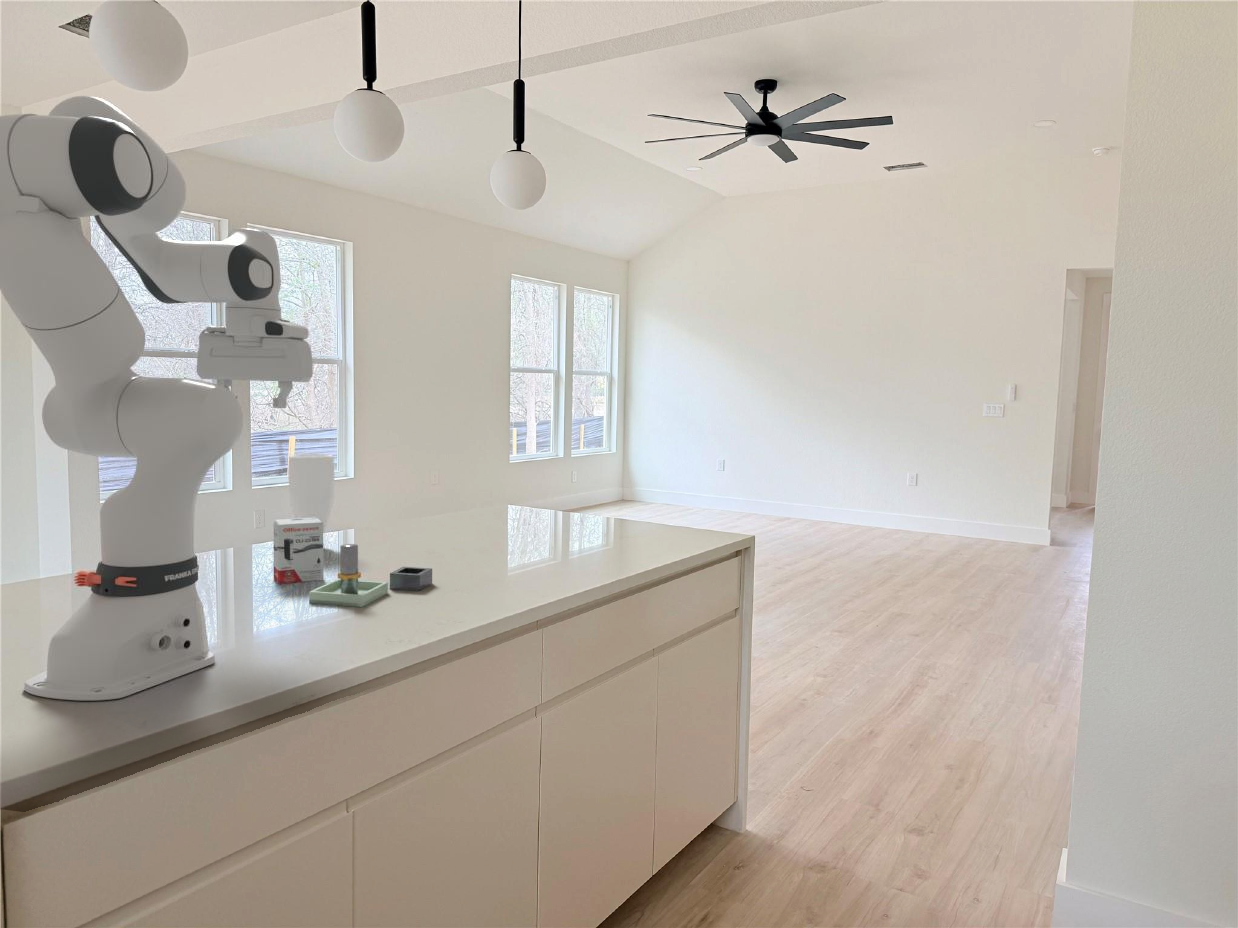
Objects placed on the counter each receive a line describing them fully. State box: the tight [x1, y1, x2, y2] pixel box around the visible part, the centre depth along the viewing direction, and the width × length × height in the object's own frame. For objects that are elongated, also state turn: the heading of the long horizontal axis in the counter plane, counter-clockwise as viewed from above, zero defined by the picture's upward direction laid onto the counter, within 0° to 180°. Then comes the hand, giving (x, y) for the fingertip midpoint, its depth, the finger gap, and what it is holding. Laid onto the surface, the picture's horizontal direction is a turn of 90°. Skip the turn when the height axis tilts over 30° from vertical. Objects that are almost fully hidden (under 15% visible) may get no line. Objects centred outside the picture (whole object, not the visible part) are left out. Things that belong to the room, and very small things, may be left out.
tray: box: [308, 578, 389, 608], centre depth 148 cm, size 10×10×2 cm
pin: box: [337, 543, 362, 594], centre depth 148 cm, size 4×4×9 cm
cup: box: [288, 453, 335, 534], centre depth 191 cm, size 10×10×22 cm
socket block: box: [389, 566, 433, 592], centre depth 158 cm, size 6×6×3 cm
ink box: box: [273, 517, 324, 585], centre depth 161 cm, size 8×5×12 cm, turn 123°
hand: (255, 407), depth 143 cm, fingers open, 8 cm apart
